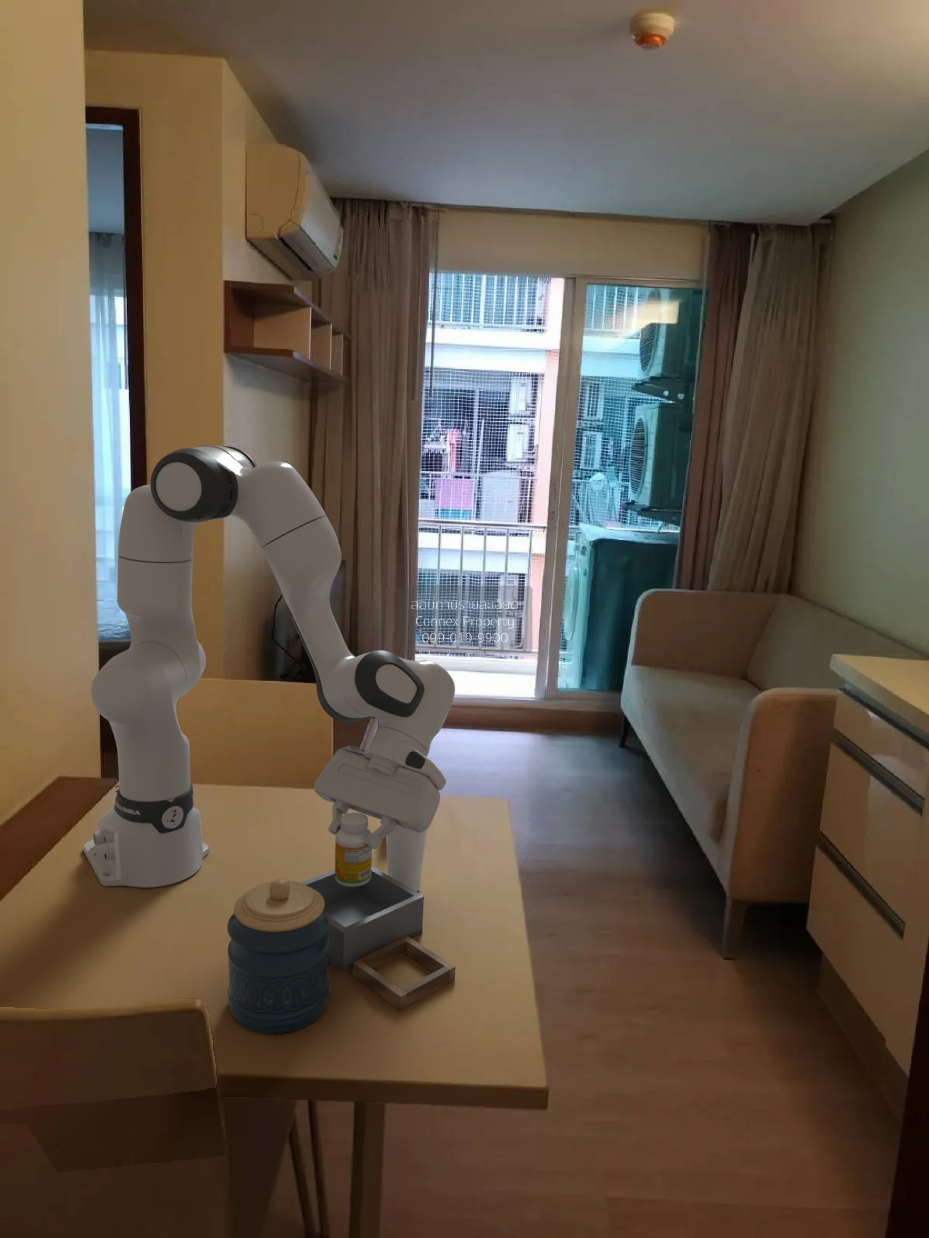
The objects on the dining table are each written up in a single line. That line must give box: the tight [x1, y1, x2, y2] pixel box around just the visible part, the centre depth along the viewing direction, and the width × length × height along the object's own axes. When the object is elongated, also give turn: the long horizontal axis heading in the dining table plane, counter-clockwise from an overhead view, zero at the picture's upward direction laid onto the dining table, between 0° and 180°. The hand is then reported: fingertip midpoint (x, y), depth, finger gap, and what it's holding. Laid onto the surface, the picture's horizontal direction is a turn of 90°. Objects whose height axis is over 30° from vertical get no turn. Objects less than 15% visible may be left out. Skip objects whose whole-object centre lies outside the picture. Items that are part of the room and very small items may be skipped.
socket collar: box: [352, 936, 456, 1011], centre depth 121 cm, size 10×10×2 cm
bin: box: [301, 865, 425, 973], centre depth 132 cm, size 15×15×6 cm
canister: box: [226, 878, 331, 1034], centre depth 113 cm, size 13×13×18 cm
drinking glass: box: [385, 825, 428, 893], centre depth 144 cm, size 7×7×15 cm
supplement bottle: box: [334, 812, 373, 887], centre depth 130 cm, size 5×5×10 cm
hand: (351, 840), depth 129 cm, fingers closed on supplement bottle, 5 cm apart
